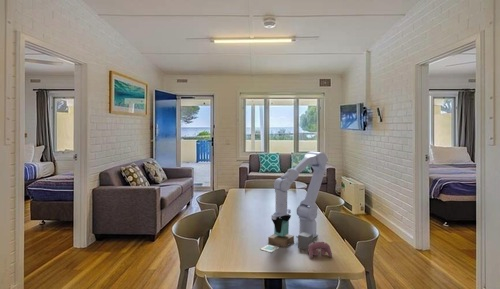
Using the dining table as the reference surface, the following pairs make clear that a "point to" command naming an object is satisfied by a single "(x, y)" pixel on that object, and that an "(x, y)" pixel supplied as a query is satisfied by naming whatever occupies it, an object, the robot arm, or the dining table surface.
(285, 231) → the teal block
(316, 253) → the pink arch
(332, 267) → the dining table surface
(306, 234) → the charcoal block
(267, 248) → the card
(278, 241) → the walnut base
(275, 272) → the dining table surface
